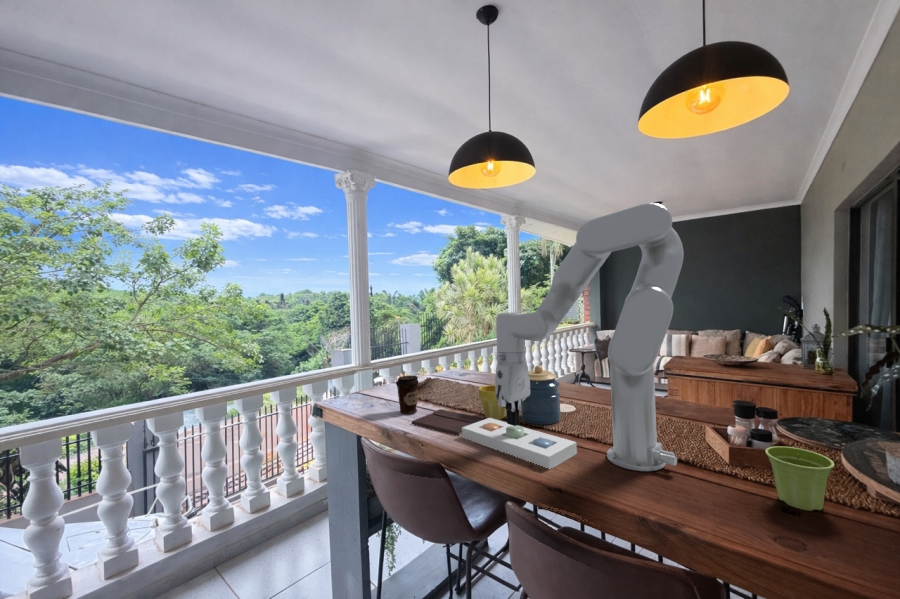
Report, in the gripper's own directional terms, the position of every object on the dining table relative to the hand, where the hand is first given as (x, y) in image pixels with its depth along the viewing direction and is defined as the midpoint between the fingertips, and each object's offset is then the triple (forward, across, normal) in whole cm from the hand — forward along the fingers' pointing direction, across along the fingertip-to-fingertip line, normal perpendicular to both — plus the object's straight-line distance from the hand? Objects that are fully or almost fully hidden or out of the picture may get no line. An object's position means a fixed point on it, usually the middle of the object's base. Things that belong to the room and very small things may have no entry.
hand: (513, 424), depth 103 cm
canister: (+6, +23, +8) cm, 25 cm away
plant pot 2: (+5, +14, -56) cm, 58 cm away
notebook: (+7, 0, +28) cm, 28 cm away
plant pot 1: (+6, +15, +21) cm, 26 cm away
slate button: (+5, 0, -9) cm, 11 cm away
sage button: (+4, 0, 0) cm, 4 cm away
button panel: (+6, 0, 0) cm, 6 cm away
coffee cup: (+7, -2, +48) cm, 48 cm away
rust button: (+6, 0, +9) cm, 10 cm away
